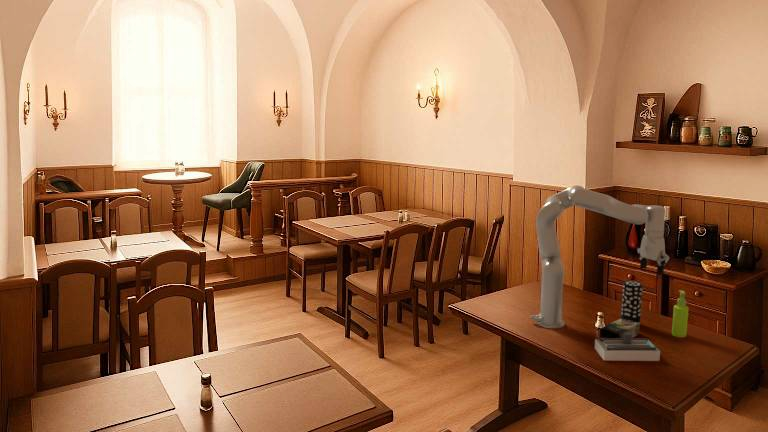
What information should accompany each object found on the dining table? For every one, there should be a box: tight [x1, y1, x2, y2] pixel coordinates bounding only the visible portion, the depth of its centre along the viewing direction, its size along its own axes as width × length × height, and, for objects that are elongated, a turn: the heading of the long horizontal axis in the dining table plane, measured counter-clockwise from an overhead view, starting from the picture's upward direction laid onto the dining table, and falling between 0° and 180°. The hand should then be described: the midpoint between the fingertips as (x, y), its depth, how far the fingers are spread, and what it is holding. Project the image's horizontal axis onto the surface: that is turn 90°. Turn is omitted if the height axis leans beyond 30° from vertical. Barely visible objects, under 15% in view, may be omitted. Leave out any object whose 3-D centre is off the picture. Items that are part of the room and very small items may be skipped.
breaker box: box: [594, 337, 661, 362], centre depth 238 cm, size 22×12×5 cm, turn 87°
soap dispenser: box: [671, 289, 690, 338], centre depth 257 cm, size 6×7×20 cm
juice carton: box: [598, 318, 641, 340], centre depth 257 cm, size 20×10×6 cm, turn 132°
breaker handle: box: [623, 333, 632, 344], centre depth 238 cm, size 2×2×5 cm
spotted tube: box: [620, 280, 644, 325], centre depth 270 cm, size 8×8×20 cm
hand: (651, 271), depth 258 cm, fingers open, 9 cm apart
